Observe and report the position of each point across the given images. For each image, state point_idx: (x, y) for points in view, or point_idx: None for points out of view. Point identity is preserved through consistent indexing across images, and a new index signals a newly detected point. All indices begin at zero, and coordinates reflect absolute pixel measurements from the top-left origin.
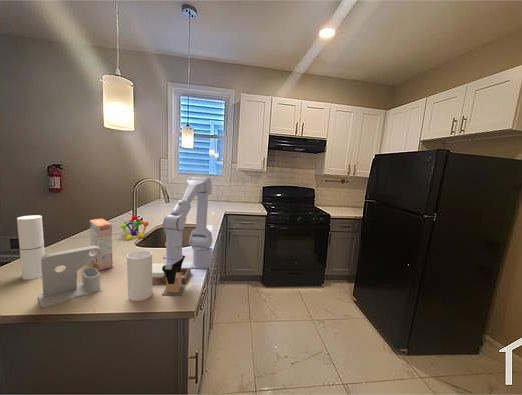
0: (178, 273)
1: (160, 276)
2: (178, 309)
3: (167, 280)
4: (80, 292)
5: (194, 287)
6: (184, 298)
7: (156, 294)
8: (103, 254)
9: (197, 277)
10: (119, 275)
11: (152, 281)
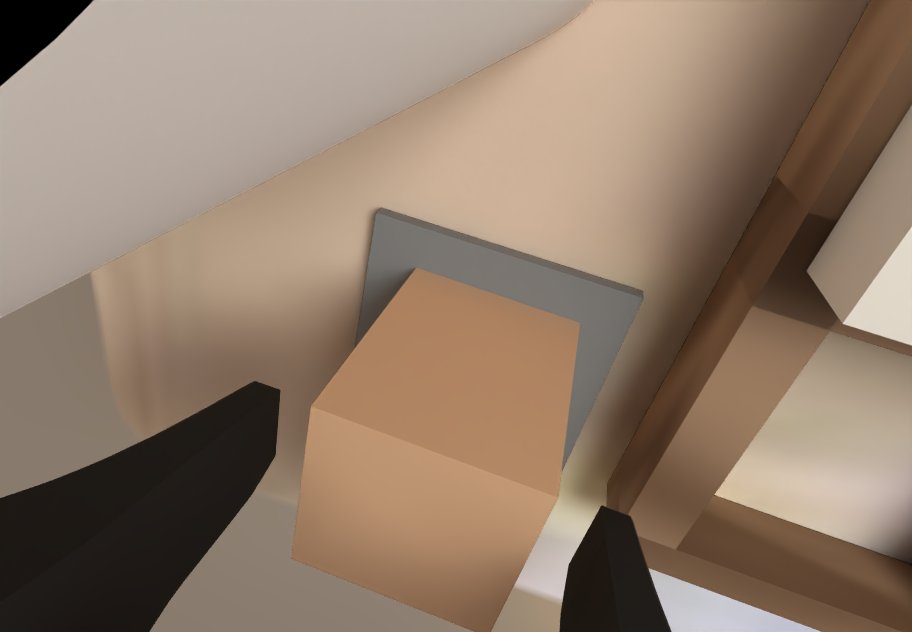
0: (459, 596)
1: (847, 222)
2: (121, 353)
3: (198, 413)
4: None
5: None
6: (291, 423)
7: (418, 128)
8: None
9: (734, 622)
10: None
11: (887, 11)
